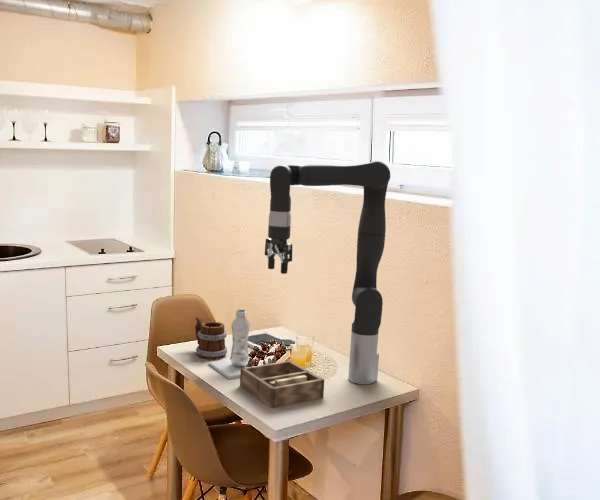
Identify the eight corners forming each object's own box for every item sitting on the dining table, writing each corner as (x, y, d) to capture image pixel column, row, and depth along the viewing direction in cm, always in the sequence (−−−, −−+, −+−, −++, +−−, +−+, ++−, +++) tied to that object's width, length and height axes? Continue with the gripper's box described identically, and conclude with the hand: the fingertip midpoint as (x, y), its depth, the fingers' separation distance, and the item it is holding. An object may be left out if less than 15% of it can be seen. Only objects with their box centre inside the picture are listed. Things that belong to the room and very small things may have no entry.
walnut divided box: (289, 377, 223) (290, 360, 222) (323, 397, 206) (324, 379, 205) (239, 385, 213) (240, 368, 212) (271, 408, 196) (272, 389, 195)
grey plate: (248, 358, 240) (248, 356, 240) (270, 372, 227) (270, 369, 227) (208, 364, 231) (208, 362, 231) (229, 379, 218) (229, 376, 218)
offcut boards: (304, 391, 211) (305, 372, 210) (312, 397, 207) (313, 377, 206) (267, 398, 203) (268, 379, 202) (275, 404, 199) (276, 384, 198)
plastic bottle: (237, 370, 225) (239, 314, 221) (226, 364, 230) (228, 309, 226) (252, 366, 229) (254, 311, 226) (241, 361, 234) (243, 307, 231)
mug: (211, 362, 233) (208, 321, 233) (186, 359, 243) (183, 319, 242) (235, 355, 242) (231, 315, 242) (210, 352, 252) (207, 314, 251)
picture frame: (297, 349, 257) (266, 336, 272) (298, 342, 256) (266, 330, 272) (265, 356, 246) (235, 342, 262) (266, 349, 246) (235, 335, 262)
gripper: (300, 226, 216) (297, 274, 218) (278, 221, 227) (276, 266, 230) (281, 227, 212) (278, 275, 214) (259, 221, 223) (257, 268, 226)
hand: (277, 271), depth 222 cm, fingers open, 8 cm apart
